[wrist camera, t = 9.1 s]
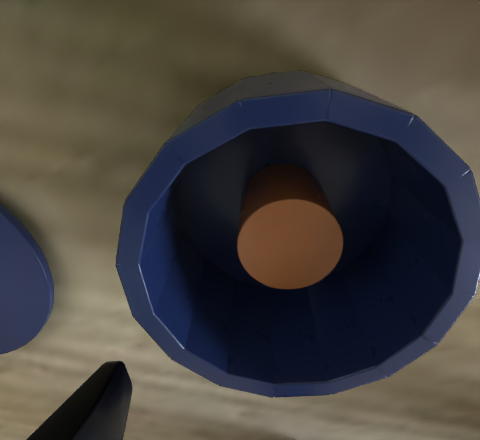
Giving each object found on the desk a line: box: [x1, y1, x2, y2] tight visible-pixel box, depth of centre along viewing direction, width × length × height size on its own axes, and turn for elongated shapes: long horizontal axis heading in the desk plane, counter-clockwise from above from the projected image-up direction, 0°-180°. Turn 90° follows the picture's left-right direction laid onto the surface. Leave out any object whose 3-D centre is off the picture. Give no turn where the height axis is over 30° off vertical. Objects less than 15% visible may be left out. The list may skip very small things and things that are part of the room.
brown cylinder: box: [237, 164, 344, 289], centre depth 15 cm, size 4×4×4 cm
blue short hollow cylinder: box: [116, 71, 480, 398], centre depth 14 cm, size 12×12×6 cm
